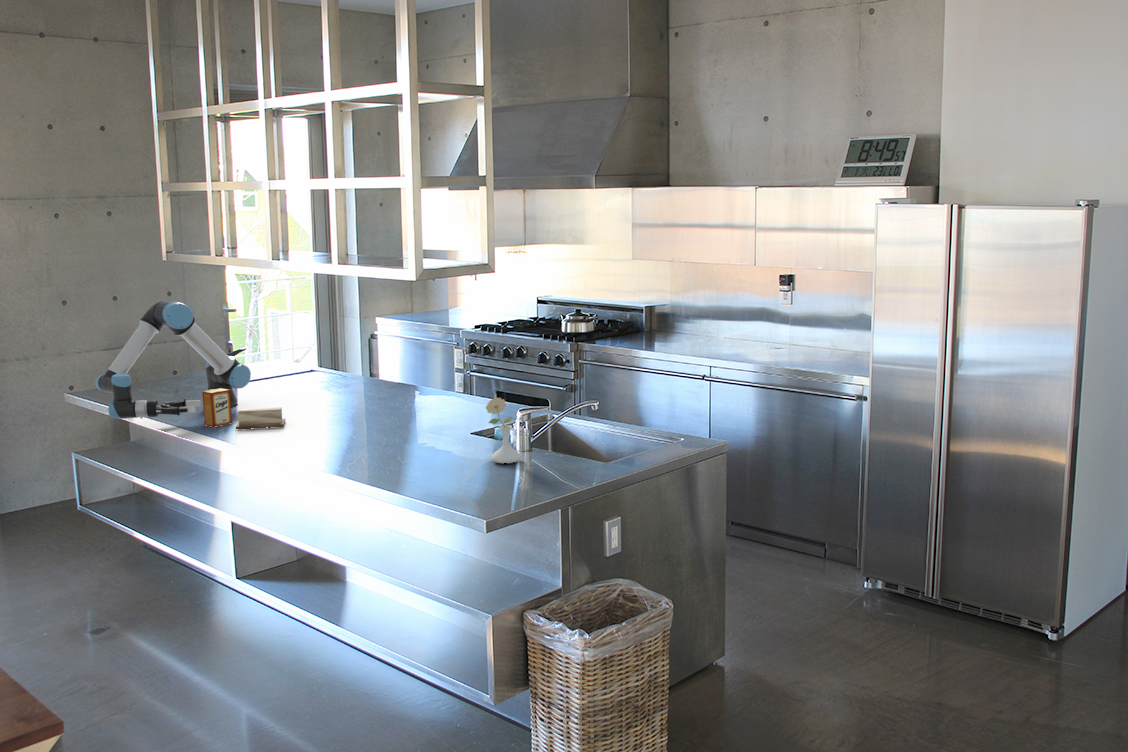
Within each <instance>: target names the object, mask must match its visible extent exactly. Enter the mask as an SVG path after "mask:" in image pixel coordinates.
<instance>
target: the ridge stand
mask: <svg viewBox="0 0 1128 752" xmlns="http://www.w3.org/2000/svg"><path fill="white" fill-rule="evenodd" d="M285 421H286V418H283V410H282V407H268V408H267V407H266V408H265V407H263V408H246V409H245V408H244V409H242V408H241V409H238V422H237V424H236V426H235V430H236V429H249V430H252V429H251V428H266V427H268V429H272V428H271V427H283V428H284V427H285V425H284V424H286V422H285Z"/></svg>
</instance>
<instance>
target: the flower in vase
mask: <svg viewBox="0 0 1128 752" xmlns="http://www.w3.org/2000/svg"><path fill="white" fill-rule="evenodd" d="M486 404H487V405H486V406H485V408H486V411H487V413H489V414H492V415H497V416H498V418H496V417H495V418H491V419H490V420H489V422H488V424H493V425H494V424H495V425H496V424H498V423H499V421H500V423H501V424H502V425H499V426H498V427H499V429H500V431H501V434H502V445H501V447H500V448H499V449H497V450H496V451H495V452H494V453H493V454H492V455H491V460H492V461H493V462H494V463H498V464H504V463H507V464H514V463H517V462H520V461H521V459H522V455H521V454H520V453H519V452H518V451H517V450H516V449H514V448H513V447H512V445H511V444H510V434H511V433H510V432H511V430H512V428H513V425H511V424H510V425H509V424H507V423H509V422H511V421H512V418H513V416H510V417H508V418H505V419H504V420H503V422H502V420H501V418H500V413H502V412H504V410H505V409H506V408H507V402H506V400H505V399H502V397H496V398H494V397H493V398H492V399H490V400H489V401H488V402H487V403H486ZM513 462H514V463H513Z"/></svg>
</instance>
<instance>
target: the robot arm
mask: <svg viewBox="0 0 1128 752" xmlns="http://www.w3.org/2000/svg"><path fill="white" fill-rule="evenodd" d="M138 322H139V325H138V327H137V328H136V329H135V331H134V332H133V333H132V335H131V337H130V338H129V339H128V340H127V342H126V343H125V344H124V346H123V347H122V349H121V351H120V352H119V353H118V355H117V356H116V358H115V359H114V361H113V362H112V363H111V364H110V366H109V367H108V369H107V370H106V372H105V373H104V374H100V375H99V376H98V377H96V380H95V382H94V383H95V386H96V389H98V391H101V392H102V393H106V394H107V393H109V394H111V395H113V397H112V398H113V401H110V402H109V403H108V410H107V411H108V415H109V418H112V419H121V420H122V419H134V418H135V419H137V418H140V420H142V419H143V418H147V417H149V418H157V417H158V416H159V415H177V416H180V414H191V413H193V414H194V413H197V408H196V407H202V400H201V399H198V400H197V399H194V400H187V399H185V398H183V399H182V400H174V401H165V402H161V403H160V404H159V402H158V400H157V399H149V400H146V399H144V400H143V399H142V400H140V399H139V400H133V391H132V380H131V375H130V374H129V373H128V372H129V371H130V369H132V367H133V365H134V364H135V363H136V361H137V360H138V358H139V357H140V355H141V354H142V352H144V350H145V348H146V347H147V346H148V344H149V343H150V341H151V340H152V339H153V337H155V334H159V333H160V332H161V330H163V328H167V329H169V331H170V332H172V334H173V335H174V336H177V337H181V338H182V339H184V340H185V342H187V344H188V345H189V346H190V347H192V348H193V349H194V350H195V351H196V352H197V353H198V354H199V356H201V357H202V358H203V359H204V360H205V362H206V363H205V372H206V373H205V374H206V375H205V376H206V387H207V388H206V389H207V390H211V389H219V388H223V389H229V390H230V399H231V406H232V407H235V406H234V405H236V404H237V403H238V398H237V395H236V394H235V390H234V389H236V390H237V389H244V388H245V387H246V386H248V384H249V382H250V381H251V379H252V377H251V370H250V368H249V367H248V366H247V365H245V364H243V363H242V364H241V363H240V362H239V361H238V360H237V359H236V358H235V357H234V356H233V355H227V353H226V352H225V351H223V349H222V348H221V347H220V346H218V344H217V343H216V342H214V340H213V339H212V337H211V338H210V336H209V335H208V334H207V333H206V332H205V331H204V330H203V329H202V328H201V327H200V326H199V325H198V324H197V323H196V317H195V316H193V311H192V309H191V308H190V307H189V306H188V305H186V303H185V304H184V303H182V302H179V301H169V300H161V301H157V302H155V303H154V304H152V305H151V306H150V307H149V308H148V309H147V311H145V313H144V314H143V315H142V316H141V318H140V319H139V321H138ZM237 405H238V404H237ZM237 405H236V406H237Z"/></svg>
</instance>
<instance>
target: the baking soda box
mask: <svg viewBox="0 0 1128 752" xmlns="http://www.w3.org/2000/svg"><path fill="white" fill-rule="evenodd" d="M202 404H203V406H202V407H203V415H204V417H203V419H204V426H205V425H207V426H206V427H208V426H212V427H215V426H220V425H224V426H226V425H225V424H229V423H232V424H233V416H232V407H231V399H230V390H229V389H223V388H219V389H211V390H208V389H207V390H203V391H202ZM229 425H230V424H229ZM212 427H211V428H212ZM220 427H221V426H220ZM215 428H216V427H215Z"/></svg>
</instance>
